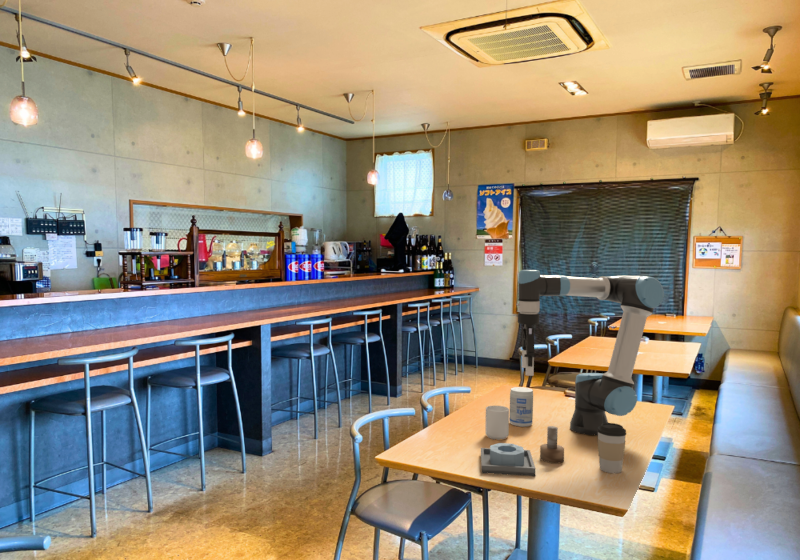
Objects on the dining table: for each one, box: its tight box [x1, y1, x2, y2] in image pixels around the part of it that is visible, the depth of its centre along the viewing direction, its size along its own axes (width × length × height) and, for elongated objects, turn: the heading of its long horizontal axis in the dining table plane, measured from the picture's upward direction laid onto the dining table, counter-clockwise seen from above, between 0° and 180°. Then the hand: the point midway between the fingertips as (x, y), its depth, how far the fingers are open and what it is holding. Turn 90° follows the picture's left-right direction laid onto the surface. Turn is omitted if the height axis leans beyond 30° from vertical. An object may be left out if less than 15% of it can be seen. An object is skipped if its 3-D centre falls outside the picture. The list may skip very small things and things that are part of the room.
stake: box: [539, 425, 565, 464], centre depth 194 cm, size 8×8×11 cm
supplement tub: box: [509, 386, 534, 428], centre depth 235 cm, size 10×10×15 cm
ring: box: [489, 442, 525, 466], centre depth 188 cm, size 11×11×4 cm
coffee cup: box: [597, 422, 627, 474], centre depth 185 cm, size 9×9×15 cm
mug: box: [485, 405, 510, 441], centre depth 219 cm, size 12×9×11 cm
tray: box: [480, 447, 536, 477], centre depth 188 cm, size 17×17×2 cm
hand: (527, 371), depth 202 cm, fingers open, 13 cm apart
